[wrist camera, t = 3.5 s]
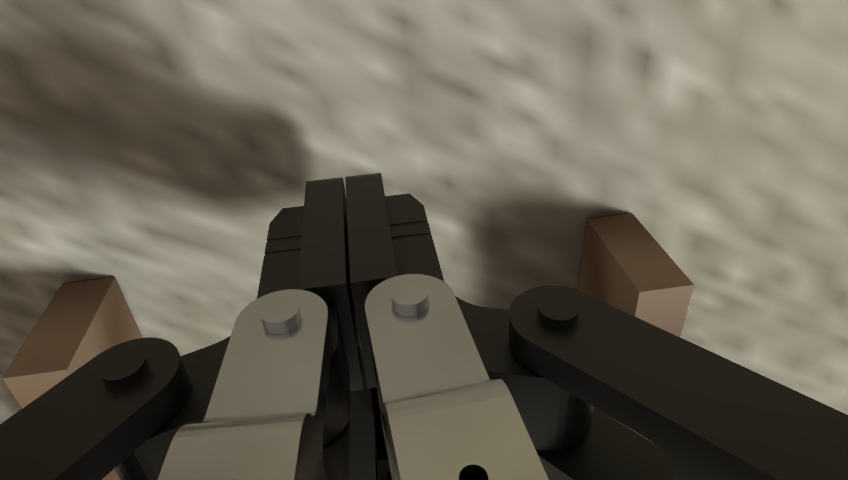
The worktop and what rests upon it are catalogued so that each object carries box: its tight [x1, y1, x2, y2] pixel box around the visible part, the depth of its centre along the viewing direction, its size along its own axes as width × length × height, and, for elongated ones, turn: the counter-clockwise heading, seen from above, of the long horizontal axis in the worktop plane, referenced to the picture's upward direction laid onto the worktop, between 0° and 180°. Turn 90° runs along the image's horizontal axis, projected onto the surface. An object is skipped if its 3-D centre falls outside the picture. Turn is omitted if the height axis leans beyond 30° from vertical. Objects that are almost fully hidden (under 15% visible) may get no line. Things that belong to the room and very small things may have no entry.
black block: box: [349, 351, 392, 480], centre depth 17 cm, size 12×7×5 cm, turn 178°
